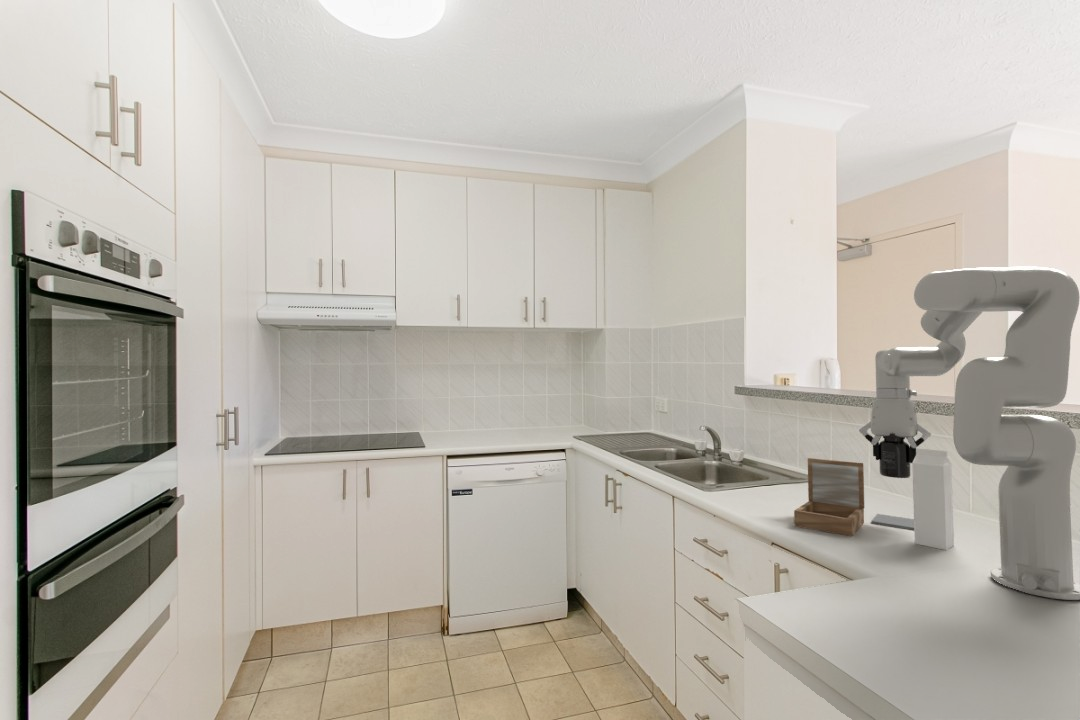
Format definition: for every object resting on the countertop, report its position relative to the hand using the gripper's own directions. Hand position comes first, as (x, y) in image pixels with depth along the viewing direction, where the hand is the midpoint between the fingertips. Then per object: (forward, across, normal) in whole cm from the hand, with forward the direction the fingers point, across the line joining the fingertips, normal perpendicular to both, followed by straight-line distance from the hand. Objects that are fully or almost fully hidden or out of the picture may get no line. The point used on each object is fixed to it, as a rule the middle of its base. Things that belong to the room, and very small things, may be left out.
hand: (894, 460), depth 135 cm
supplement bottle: (+5, 0, 0) cm, 5 cm away
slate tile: (+17, 0, 0) cm, 17 cm away
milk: (+17, -9, +16) cm, 25 cm away
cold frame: (+17, +13, +14) cm, 25 cm away
